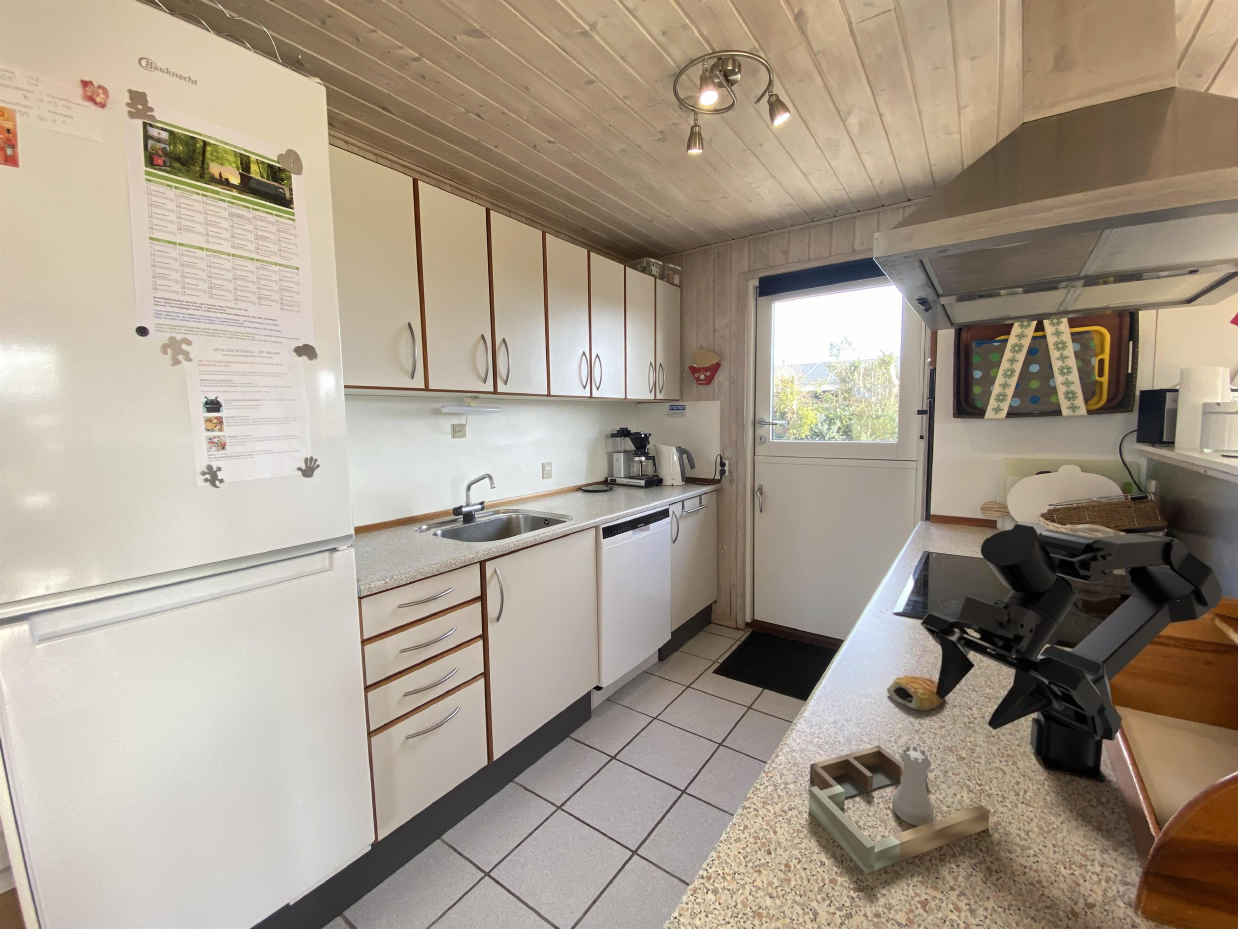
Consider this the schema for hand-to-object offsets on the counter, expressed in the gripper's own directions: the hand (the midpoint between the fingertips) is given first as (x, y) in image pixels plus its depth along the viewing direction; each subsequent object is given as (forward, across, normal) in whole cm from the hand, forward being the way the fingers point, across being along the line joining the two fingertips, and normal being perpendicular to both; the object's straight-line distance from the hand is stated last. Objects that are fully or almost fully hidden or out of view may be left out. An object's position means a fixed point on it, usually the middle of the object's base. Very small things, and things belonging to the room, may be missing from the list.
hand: (963, 711), depth 62 cm
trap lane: (+15, -2, +1) cm, 15 cm away
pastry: (-2, -19, +19) cm, 27 cm away
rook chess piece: (+14, 0, +3) cm, 14 cm away
